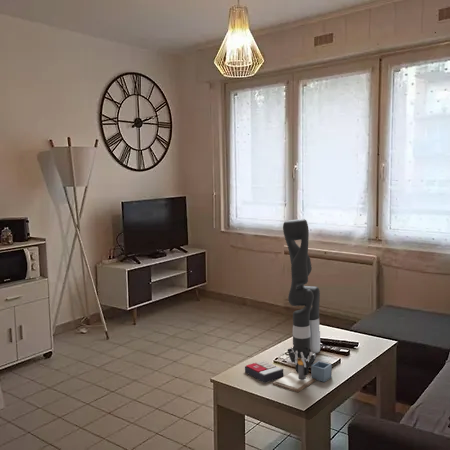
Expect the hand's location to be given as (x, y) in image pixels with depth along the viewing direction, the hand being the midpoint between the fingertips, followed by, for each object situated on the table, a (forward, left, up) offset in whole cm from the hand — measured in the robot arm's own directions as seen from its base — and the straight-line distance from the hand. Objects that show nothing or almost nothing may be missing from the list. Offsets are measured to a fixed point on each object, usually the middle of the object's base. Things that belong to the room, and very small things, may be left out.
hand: (302, 373), depth 215 cm
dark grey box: (+3, -19, -5) cm, 20 cm away
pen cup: (-9, +4, -4) cm, 11 cm away
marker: (0, 0, -2) cm, 2 cm away
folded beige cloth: (+2, -3, -4) cm, 5 cm away
